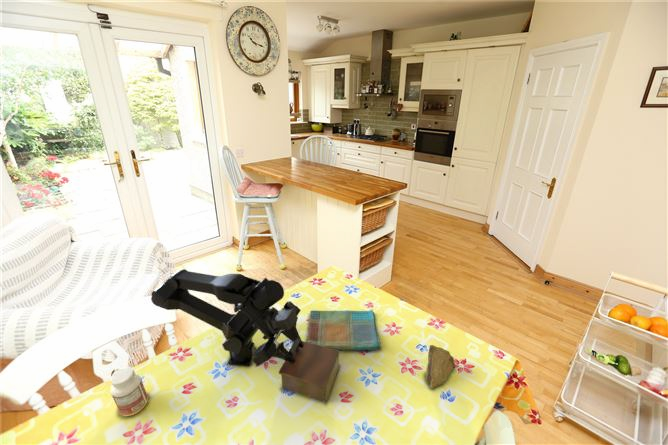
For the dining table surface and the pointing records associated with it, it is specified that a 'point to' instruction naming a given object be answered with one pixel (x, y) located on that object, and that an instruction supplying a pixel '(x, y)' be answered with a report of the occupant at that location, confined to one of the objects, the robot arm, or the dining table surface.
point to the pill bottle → (128, 391)
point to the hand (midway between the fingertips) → (298, 354)
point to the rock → (438, 366)
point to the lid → (310, 363)
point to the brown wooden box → (310, 386)
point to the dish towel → (344, 330)
